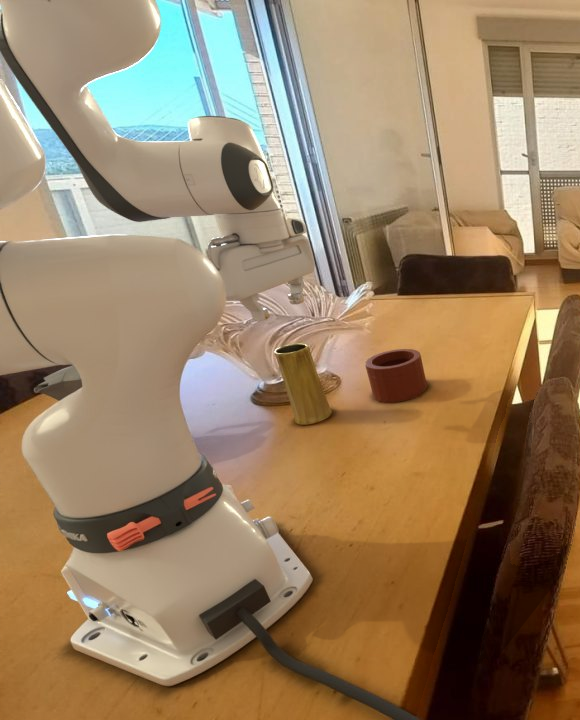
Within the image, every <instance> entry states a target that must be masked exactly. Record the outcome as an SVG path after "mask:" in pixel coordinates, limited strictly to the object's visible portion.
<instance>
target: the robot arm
mask: <svg viewBox="0 0 580 720" xmlns="http://www.w3.org/2000/svg"><path fill="white" fill-rule="evenodd" d="M0 8H1V9H0V54H1V56H2V58H3V60H4V61H5V63H6V65H7V66H8V68H9V69H10V71H11V73H12V74H13V76H14V77H15V78H16V80H17V82H18V83H19V84H20V86H21V87H22V89H23V91H24V92H25V93H26V95H27V96H28V98H29V100H30V101H31V102H32V103H33V104H34V106H35V107H36V109H37V110H38V111H39V113H40V114H41V116H42V117H43V118H44V120H45V121H46V122H47V124H48V125H49V127H50V128H51V130H52V131H53V132H54V134H55V135H56V136H57V138H58V139H59V140H60V142H61V144H62V145H63V146H64V148H65V149H66V151H67V152H68V154H70V156H71V157H72V159H73V161H74V162H75V163H76V165H77V167H78V169H79V171H80V173H81V175H82V177H83V179H84V181H85V183H86V185H87V187H88V188H89V190H90V192H91V194H92V195H93V197H94V198H95V199H96V200H97V202H99V203H100V204H101V205H102V206H104V207H105V208H106V209H108V210H110V211H112V212H113V213H115V214H117V215H119V216H121V217H123V218H125V219H127V220H129V221H132V222H136V223H143V222H144V223H145V222H151V221H159V220H166V219H171V218H186V217H187V218H188V217H204V216H205V217H207V216H214V219H215V222H216V225H217V227H218V230H219V233H220V237H219V236H218V237H213V238H211V239H210V240H209V242H208V244H207V246H206V248H205V254H204V253H203V252H202V251H201V250H199V249H198V248H197V247H195V246H193V245H192V244H190V243H189V242H186V241H184V240H183V239H180V238H178V237H163V236H154V235H153V236H152V235H138V234H117V233H114V234H101V235H88V236H86V235H85V236H76V237H75V236H73V237H63V238H61V237H60V238H50V239H49V238H48V239H36V240H35V239H34V240H24V241H23V240H21V241H12V240H11V241H7V240H6V241H5V240H4V241H3V240H0V376H4V375H10V374H16V373H21V372H28V371H33V370H38V369H39V370H40V369H46V368H51V367H56V366H73V365H74V366H75V368H76V369H77V371H78V373H79V375H80V377H81V380H82V388H80V389H79V390H77V391H75V392H74V393H72V394H70V395H68V396H67V397H65V398H63V399H62V400H60V401H57V402H55V403H53V404H52V405H50V407H48V408H46V409H45V410H44V411H42V413H40V414H39V415H38V416H36V417H35V418H33V420H32V421H31V422H30V423H29V425H27V427H26V429H25V430H24V433H23V436H22V438H21V454H22V457H23V458H24V460H25V462H26V463H27V464H28V466H29V468H30V469H31V471H32V472H33V474H34V475H35V477H36V479H37V480H38V482H39V484H40V485H41V487H42V488H43V490H44V492H45V493H46V495H47V496H48V498H49V499H50V501H51V502H52V504H53V505H54V509H53V513H52V515H53V518H54V520H55V522H56V526H57V529H58V530H59V532H60V533H61V535H62V536H64V537H65V538H66V540H67V542H68V543H69V544H70V546H72V547H73V548H72V551H71V553H70V555H69V558H68V559H67V561H66V563H65V564H64V565H63V567H62V569H61V571H60V573H61V575H62V577H63V578H64V580H65V582H66V584H67V585H68V587H69V589H70V590H68V591H67V592H66V593H67V595H68V597H69V598H70V599H71V600H73V601H76V602H77V603H78V605H80V607H81V609H82V611H83V612H84V614H85V616H86V618H87V619H86V620H85V621H84V622H83V623H82V624H81V625H80V626H79V627H78V628H77V629H76V630H75V631H74V633H73V634H72V635H71V637H70V645H71V646H72V648H73V649H74V650H75V651H77V652H79V653H81V654H84V655H86V656H89V657H92V658H94V659H96V660H99V661H101V662H104V663H106V664H109V665H111V666H114V667H115V668H118V669H121V670H123V671H126V672H128V673H130V674H133V675H136V676H138V677H141V678H142V679H145V680H148V681H149V682H153V683H156V684H157V685H161V686H163V687H164V686H165V687H173V686H175V685H178V684H180V683H183V682H185V681H187V680H190V679H192V678H193V677H196V676H199V675H200V674H202V673H204V672H206V671H207V670H209V669H211V668H213V667H214V666H216V665H217V664H219V663H221V662H222V661H224V660H226V659H228V658H229V657H230V656H232V655H233V654H235V653H236V652H238V651H239V650H241V649H242V648H244V647H245V646H246V645H247V644H249V643H250V642H251V641H253V640H255V639H256V638H257V640H258V641H259V642H260V644H261V646H262V647H263V648H264V650H265V651H266V652H267V653H268V654H269V655H270V656H271V658H273V659H274V660H276V661H277V662H278V663H279V664H280V665H282V666H283V667H284V668H287V669H288V670H290V671H292V672H293V673H296V674H298V675H301V676H303V677H306V678H308V679H311V680H312V681H316V682H317V683H320V684H322V685H323V686H326V687H329V689H332V690H333V691H336V692H338V693H340V694H343V695H344V696H347V697H349V698H351V699H353V700H354V701H357V702H359V703H361V704H364V705H365V706H367V707H369V708H371V709H373V710H375V711H377V712H379V713H381V714H383V715H385V716H386V717H388V718H390V719H392V720H422V719H421V718H419V717H417V716H415V715H413V713H411V712H408V711H407V710H405V709H403V708H401V707H399V706H398V705H395V704H394V703H392V702H391V701H388V700H386V699H384V698H382V697H380V696H378V695H376V694H374V693H372V692H370V691H368V690H365V689H363V688H361V687H359V686H357V685H355V684H353V683H350V682H348V681H346V680H344V679H342V678H340V677H338V676H335V675H334V674H331V673H329V672H328V671H325V670H322V669H320V668H318V667H315V666H312V665H310V664H307V663H304V662H302V661H300V660H298V659H297V658H294V657H293V656H291V655H290V654H288V653H287V652H286V651H285V650H283V649H282V648H281V647H280V646H279V645H278V644H277V643H276V642H275V640H274V639H273V637H272V636H271V634H270V633H269V632H268V630H267V629H268V628H270V627H271V626H273V625H274V624H275V623H276V622H277V621H278V620H279V619H281V618H282V617H283V616H284V615H285V614H286V613H287V612H289V610H290V609H292V608H293V607H294V606H295V605H296V604H297V603H298V601H299V600H300V599H301V598H302V597H303V596H304V595H305V593H306V592H307V591H308V589H309V588H310V586H311V584H312V583H313V580H314V579H313V576H312V574H311V572H310V571H309V569H308V568H307V567H306V565H305V564H304V563H303V562H302V561H301V559H300V558H299V557H298V556H297V555H296V553H295V552H294V551H293V549H292V548H291V546H289V545H288V543H287V541H286V540H285V539H284V538H283V537H282V536H281V534H280V533H279V532H280V531H279V527H278V526H277V524H276V522H275V520H274V519H273V517H272V516H267V517H265V518H262V519H260V520H259V518H255V519H252V517H250V515H249V513H250V512H252V511H253V510H255V507H254V504H253V502H252V500H251V499H250V498H249V499H245V500H243V501H242V502H241V501H239V500H238V498H237V496H236V494H235V492H234V489H233V487H232V485H231V484H224V483H222V482H221V480H220V479H219V477H218V473H217V472H216V469H215V468H214V467H213V465H212V464H211V463H210V462H209V460H208V459H207V458H206V456H205V455H203V454H202V453H201V452H199V450H198V448H197V445H196V443H195V441H194V439H193V436H192V434H191V430H190V428H189V424H188V422H187V419H186V416H185V413H184V410H183V405H182V401H181V382H182V377H183V372H184V369H185V366H186V365H187V362H188V360H189V358H190V356H191V355H192V354H193V352H194V350H195V348H196V347H197V346H198V345H199V344H200V343H201V342H202V341H203V339H205V337H206V336H208V335H209V334H210V333H211V332H212V331H213V330H214V329H215V328H216V327H217V326H218V324H219V322H220V321H221V319H222V317H223V316H224V312H225V309H226V304H227V302H228V301H239V302H240V304H241V305H242V306H243V307H244V308H245V309H246V310H248V311H249V312H250V314H251V318H252V320H253V321H254V322H263V321H266V320H268V319H269V318H270V317H271V316H270V314H269V310H268V308H267V307H262V305H261V304H260V303H259V302H258V301H260V296H259V294H260V293H263V292H266V291H268V290H271V289H273V288H276V287H279V286H281V285H284V284H287V285H289V293H288V294H287V298H288V300H289V303H290V304H291V305H300V304H302V303H304V302H305V297H304V295H303V292H304V284H305V281H304V278H303V277H305V276H308V275H309V274H312V273H314V271H315V266H316V263H315V262H316V261H315V258H314V254H313V251H312V246H311V243H310V241H309V239H308V237H307V236H306V235H305V234H306V233H307V226H306V223H305V222H304V220H301V219H297V218H296V217H295V218H294V217H291V216H288V215H284V214H283V211H282V208H281V205H280V203H279V201H278V199H277V198H276V196H275V193H274V184H273V183H274V181H273V177H272V173H271V170H270V168H269V167H270V166H269V165H268V162H267V159H266V156H265V154H264V152H263V149H262V147H261V145H260V142H259V140H258V138H257V136H256V133H255V132H254V130H253V128H252V127H251V125H250V124H249V123H247V122H245V121H243V120H241V119H238V118H234V117H226V116H221V115H203V116H202V115H200V116H197V117H193V118H191V119H189V120H188V122H187V129H188V135H189V140H172V141H171V140H170V141H169V140H168V141H162V140H160V141H159V140H158V141H143V140H136V139H130V138H127V137H124V136H122V135H119V134H118V133H116V132H115V130H114V128H113V127H112V126H111V123H110V122H109V120H108V118H107V117H106V115H105V114H104V112H103V111H102V108H101V107H100V105H99V104H98V101H97V100H96V99H95V96H94V95H93V93H92V92H91V90H90V88H89V87H88V85H89V84H90V83H93V82H95V81H97V80H100V79H101V78H105V77H107V76H110V75H113V74H115V73H120V72H122V71H125V70H128V69H130V68H132V67H134V66H135V65H137V64H138V63H140V62H141V61H142V60H144V59H145V58H146V57H147V56H148V55H149V54H150V53H151V52H152V50H153V49H154V47H155V46H156V44H157V43H158V40H159V38H160V34H161V29H162V21H161V20H162V17H161V16H162V15H161V11H160V9H159V5H158V3H157V0H0ZM46 169H47V159H46V154H45V150H44V148H43V147H42V145H41V143H40V142H39V140H38V138H37V136H36V135H35V133H34V131H33V130H32V128H31V126H30V124H29V123H28V121H27V119H26V117H25V116H24V114H23V112H22V111H21V108H20V106H19V105H18V103H17V101H16V100H15V98H14V96H13V95H12V93H11V92H10V90H9V87H8V86H7V85H6V82H4V79H3V78H2V76H1V75H0V210H3V209H5V208H7V207H10V206H11V205H13V204H16V203H17V202H18V201H20V200H22V199H23V198H24V197H26V196H28V195H29V194H30V193H32V192H33V191H34V190H35V189H36V188H37V187H39V185H40V184H41V183H42V181H43V179H44V177H45V174H46Z"/></svg>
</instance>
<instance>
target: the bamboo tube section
mask: <svg viewBox="0 0 580 720" xmlns="http://www.w3.org/2000/svg"><path fill="white" fill-rule="evenodd" d="M273 353H274V356H275V358H276V361H277V364H278V367H279V370H280V373H281V377H282V380H283V383H284V387H285V390H286V394H287V397H288V400H289V403H290V407H291V410H292V415H293V417H294V423H295V424H297V425H299V426H309V425H315V424H317V423H320V422H323V421H325V420H327V419H328V418H330V417H331V415H332V414H333V410H332V409H331V407H330V403H329V402H328V398H327V396H326V394H325V390H324V388H323V386H322V383H321V379H320V376H319V374H318V371H317V368H316V365H315V361H314V359H313V355H312V353H311V348H310V346H309V345H308V344H307V343H303V342H298V343H290V344H286V345H283V346H279V347H278V348H276V349H275V350H274V351H273Z"/></svg>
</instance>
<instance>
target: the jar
mask: <svg viewBox="0 0 580 720" xmlns="http://www.w3.org/2000/svg"><path fill="white" fill-rule="evenodd" d="M364 366H365V370H366V373H367V377H368V380H369V385H370V388H371V392H372V396H373V398H374V400H376V401H377V402H380V403H387V404H388V403H389V404H390V403H391V404H392V403H400V402H404V401H408V400H411V399H415V398H417V397H418V396H420V395H422V394H423V393H424V392H425V391H426V390H427V388H428V384H427V378H426V374H425V369H424V365H423V360H422V354H421V352H420V351H418V350H416V349H412V348H399V349H398V348H397V349H391V350H387V351H382V352H380V353H376V354H375V355H372V356H370V357H369V358H368V359H366V361H365V362H364Z"/></svg>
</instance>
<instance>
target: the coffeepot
mask: <svg viewBox="0 0 580 720" xmlns="http://www.w3.org/2000/svg"><path fill="white" fill-rule="evenodd" d="M43 380H44V381H43V382H41V383H39V384H38V385H36V386H35V387H34V388H33V392H34V393H35V394H43V395H45V396H47V397H50V398H52V399H54V400H56V401H57V402H59V401H60V400H62V399H63V398H65V397H67V396H68V395H70V394H72V393H74V392H75V391H77V390H79V389H80V388H82V380H81V377H80V375H79V373H78V371H77V369H76V368H75V366H74V365H69V366H67V367H64V368H61V369H60V370H57V371H55V372H52V373H50V374H49V375H47V376H44V377H43Z"/></svg>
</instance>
